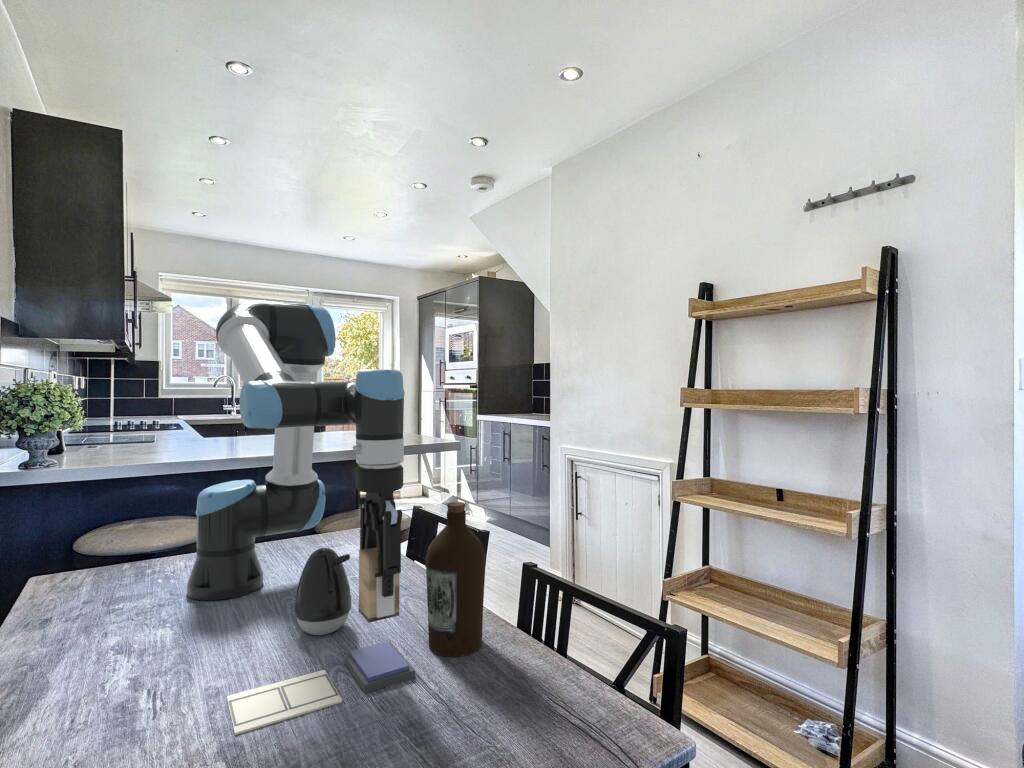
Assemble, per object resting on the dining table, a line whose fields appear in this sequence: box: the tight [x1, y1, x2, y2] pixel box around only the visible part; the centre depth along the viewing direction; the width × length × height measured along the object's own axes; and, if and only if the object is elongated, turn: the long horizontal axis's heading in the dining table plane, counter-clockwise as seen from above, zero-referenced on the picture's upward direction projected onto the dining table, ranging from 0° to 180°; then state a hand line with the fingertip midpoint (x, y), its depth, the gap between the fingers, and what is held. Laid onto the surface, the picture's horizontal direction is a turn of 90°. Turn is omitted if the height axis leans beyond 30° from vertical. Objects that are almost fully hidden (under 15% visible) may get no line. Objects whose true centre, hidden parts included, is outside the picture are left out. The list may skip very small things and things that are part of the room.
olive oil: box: [424, 501, 487, 658], centre depth 97 cm, size 11×11×25 cm
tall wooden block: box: [358, 547, 401, 623], centre depth 89 cm, size 5×5×10 cm
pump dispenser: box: [293, 547, 352, 636], centre depth 103 cm, size 10×10×15 cm
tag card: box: [226, 669, 343, 736], centre depth 80 cm, size 10×14×1 cm
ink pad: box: [343, 641, 416, 694], centre depth 89 cm, size 11×8×2 cm
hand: (379, 608), depth 89 cm, fingers closed on tall wooden block, 5 cm apart
